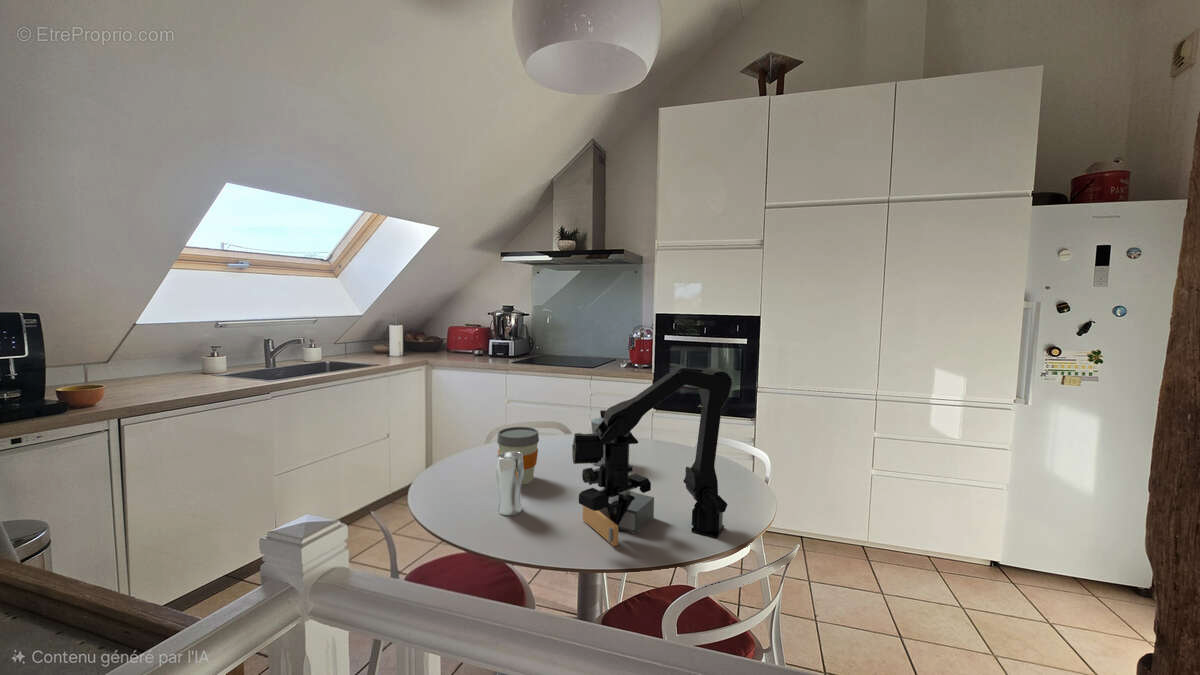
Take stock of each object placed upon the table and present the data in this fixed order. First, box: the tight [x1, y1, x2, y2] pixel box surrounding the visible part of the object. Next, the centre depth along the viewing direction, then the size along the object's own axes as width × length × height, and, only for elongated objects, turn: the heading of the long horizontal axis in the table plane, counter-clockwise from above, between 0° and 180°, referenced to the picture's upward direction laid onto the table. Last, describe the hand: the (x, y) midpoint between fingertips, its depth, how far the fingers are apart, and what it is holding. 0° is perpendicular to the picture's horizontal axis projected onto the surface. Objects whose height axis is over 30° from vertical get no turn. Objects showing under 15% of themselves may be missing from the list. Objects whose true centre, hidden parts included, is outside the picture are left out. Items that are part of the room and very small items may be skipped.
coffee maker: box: [590, 409, 606, 467], centre depth 166 cm, size 15×9×18 cm, turn 25°
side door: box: [582, 505, 619, 547], centre depth 117 cm, size 15×2×5 cm, turn 30°
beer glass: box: [496, 451, 524, 517], centre depth 129 cm, size 7×7×15 cm
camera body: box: [598, 487, 655, 535], centre depth 126 cm, size 14×12×6 cm
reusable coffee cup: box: [497, 426, 540, 486], centre depth 150 cm, size 13×13×15 cm
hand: (615, 526), depth 116 cm, fingers closed
